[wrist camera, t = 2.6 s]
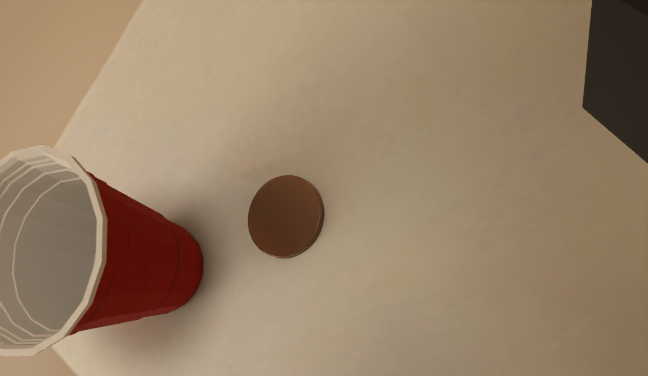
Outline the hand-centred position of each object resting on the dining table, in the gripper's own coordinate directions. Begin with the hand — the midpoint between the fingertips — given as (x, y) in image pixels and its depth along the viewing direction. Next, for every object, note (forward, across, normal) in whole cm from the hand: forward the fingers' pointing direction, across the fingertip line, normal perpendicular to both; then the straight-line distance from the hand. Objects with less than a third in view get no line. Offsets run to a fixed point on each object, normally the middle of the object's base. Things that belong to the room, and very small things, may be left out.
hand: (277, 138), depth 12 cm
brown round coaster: (+19, -1, -18) cm, 27 cm away
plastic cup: (+21, -9, -22) cm, 32 cm away
